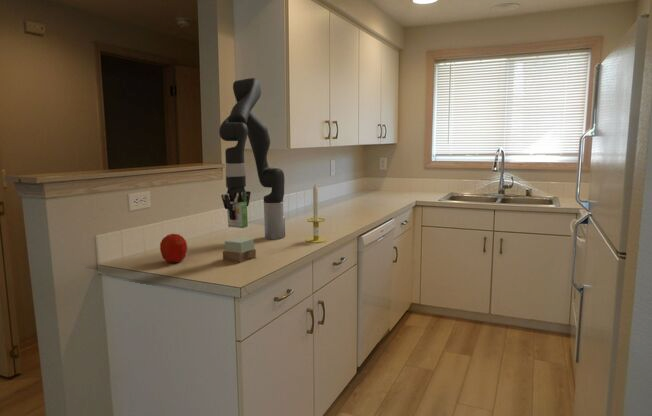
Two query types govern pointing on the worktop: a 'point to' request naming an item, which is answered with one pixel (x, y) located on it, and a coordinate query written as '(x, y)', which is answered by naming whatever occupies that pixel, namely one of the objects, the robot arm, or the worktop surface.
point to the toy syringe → (315, 219)
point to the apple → (173, 248)
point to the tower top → (239, 245)
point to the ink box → (239, 215)
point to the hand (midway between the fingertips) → (237, 218)
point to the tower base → (239, 256)
